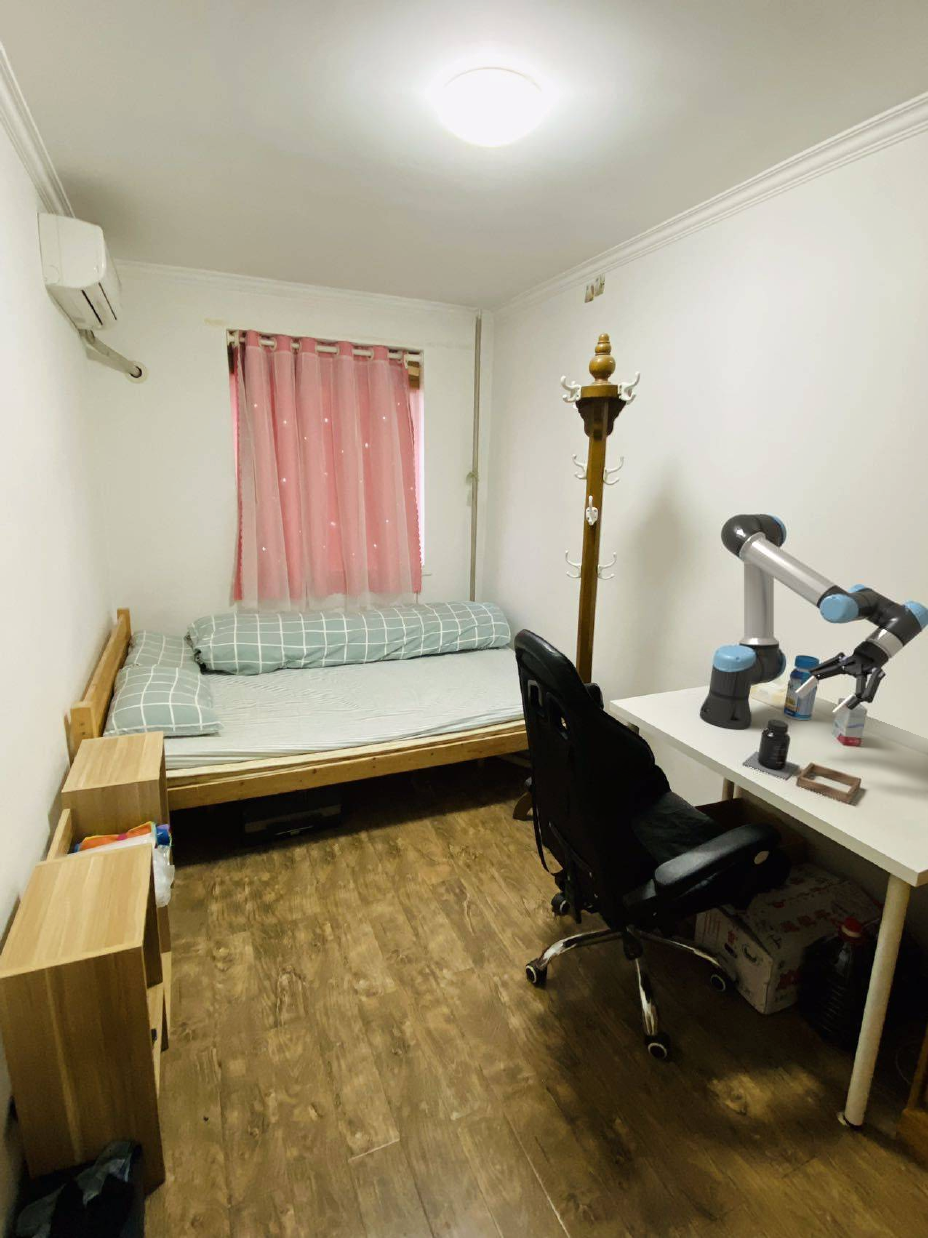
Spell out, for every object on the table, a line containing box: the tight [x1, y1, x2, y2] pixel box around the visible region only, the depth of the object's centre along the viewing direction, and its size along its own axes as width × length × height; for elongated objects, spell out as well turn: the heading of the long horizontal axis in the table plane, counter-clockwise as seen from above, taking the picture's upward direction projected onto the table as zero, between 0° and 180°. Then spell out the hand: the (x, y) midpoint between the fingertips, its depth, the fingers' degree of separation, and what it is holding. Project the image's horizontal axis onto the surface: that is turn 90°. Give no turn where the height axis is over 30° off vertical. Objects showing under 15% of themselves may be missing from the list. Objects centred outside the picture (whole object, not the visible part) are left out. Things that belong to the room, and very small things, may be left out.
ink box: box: [831, 697, 868, 747], centre depth 179 cm, size 9×5×12 cm, turn 168°
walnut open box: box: [795, 762, 862, 805], centre depth 152 cm, size 12×12×2 cm
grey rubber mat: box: [741, 751, 800, 781], centre depth 162 cm, size 11×11×1 cm
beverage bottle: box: [782, 654, 820, 721], centre depth 195 cm, size 8×8×20 cm
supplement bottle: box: [758, 719, 791, 770], centre depth 160 cm, size 7×7×12 cm
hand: (816, 705), depth 160 cm, fingers open, 13 cm apart
